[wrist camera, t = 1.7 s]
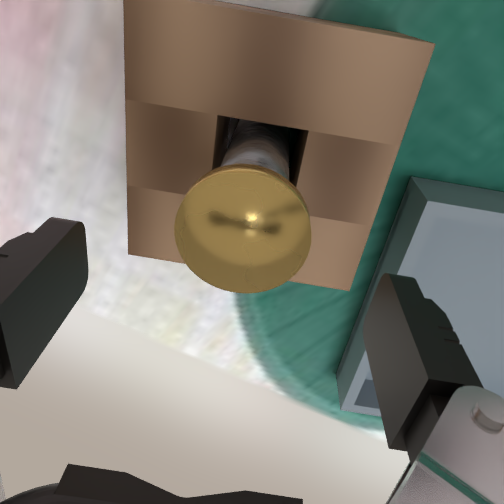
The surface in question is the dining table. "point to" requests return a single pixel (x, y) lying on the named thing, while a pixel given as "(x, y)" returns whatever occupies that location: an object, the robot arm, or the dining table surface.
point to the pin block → (265, 115)
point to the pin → (246, 215)
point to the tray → (441, 279)
